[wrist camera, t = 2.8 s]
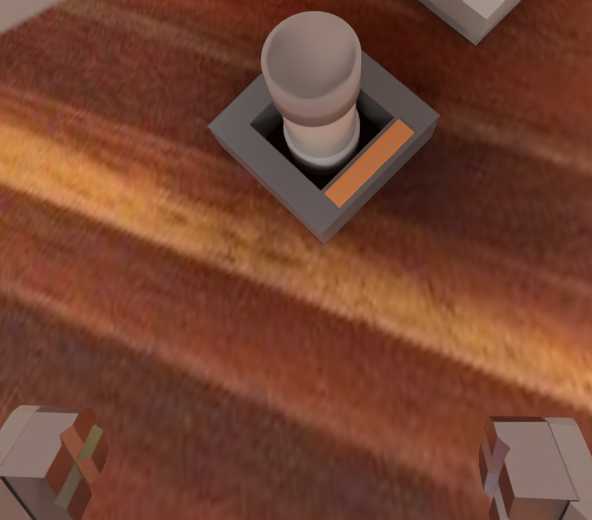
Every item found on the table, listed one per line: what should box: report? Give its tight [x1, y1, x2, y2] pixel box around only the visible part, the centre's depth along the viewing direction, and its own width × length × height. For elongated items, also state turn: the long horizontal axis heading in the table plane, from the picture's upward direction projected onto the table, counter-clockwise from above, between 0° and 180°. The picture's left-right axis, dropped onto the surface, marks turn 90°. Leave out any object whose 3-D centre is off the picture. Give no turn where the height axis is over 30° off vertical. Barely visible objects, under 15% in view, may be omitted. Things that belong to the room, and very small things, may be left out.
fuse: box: [261, 11, 361, 175], centre depth 22 cm, size 4×4×8 cm
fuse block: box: [208, 50, 440, 245], centre depth 25 cm, size 8×8×3 cm
